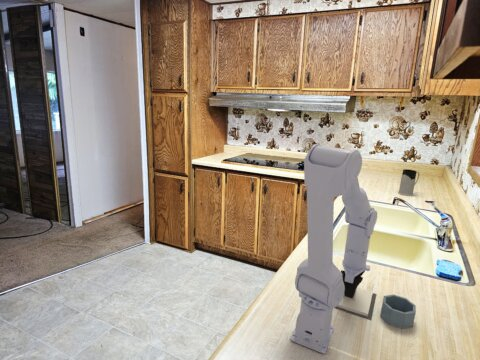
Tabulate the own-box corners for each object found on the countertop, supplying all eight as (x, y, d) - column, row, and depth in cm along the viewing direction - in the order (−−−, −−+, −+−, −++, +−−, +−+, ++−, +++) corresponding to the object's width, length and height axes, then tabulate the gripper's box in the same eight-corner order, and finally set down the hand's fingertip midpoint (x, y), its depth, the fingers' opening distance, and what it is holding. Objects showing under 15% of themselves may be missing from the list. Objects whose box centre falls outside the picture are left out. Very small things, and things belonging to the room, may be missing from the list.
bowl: (412, 333, 76) (415, 317, 75) (379, 322, 79) (381, 306, 78) (412, 316, 82) (415, 300, 81) (381, 306, 85) (384, 291, 84)
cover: (367, 316, 80) (370, 300, 79) (324, 302, 85) (326, 286, 84) (372, 294, 90) (375, 279, 89) (333, 283, 95) (335, 268, 94)
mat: (371, 321, 79) (371, 320, 79) (319, 304, 85) (319, 303, 85) (376, 295, 90) (376, 294, 90) (330, 281, 96) (330, 280, 96)
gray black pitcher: (394, 192, 199) (398, 169, 196) (409, 190, 206) (413, 168, 202) (407, 196, 192) (411, 172, 188) (422, 194, 198) (426, 171, 194)
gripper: (369, 264, 76) (361, 313, 79) (375, 242, 88) (368, 285, 92) (339, 256, 79) (332, 303, 82) (349, 236, 91) (343, 277, 95)
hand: (349, 293), depth 87 cm, fingers closed on cover, 3 cm apart
